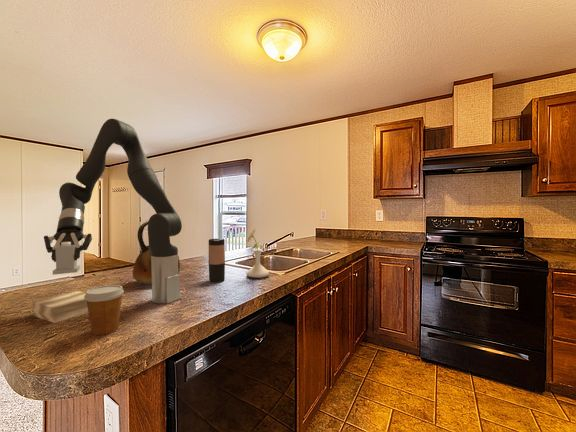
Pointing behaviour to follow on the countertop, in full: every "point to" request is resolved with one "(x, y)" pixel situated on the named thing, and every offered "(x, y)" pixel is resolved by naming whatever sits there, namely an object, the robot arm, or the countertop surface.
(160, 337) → the countertop surface
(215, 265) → the travel mug
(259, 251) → the flower in vase
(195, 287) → the countertop surface
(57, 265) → the grey box with knob
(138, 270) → the ceramic pitcher
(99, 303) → the disposable coffee cup
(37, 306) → the birch block
